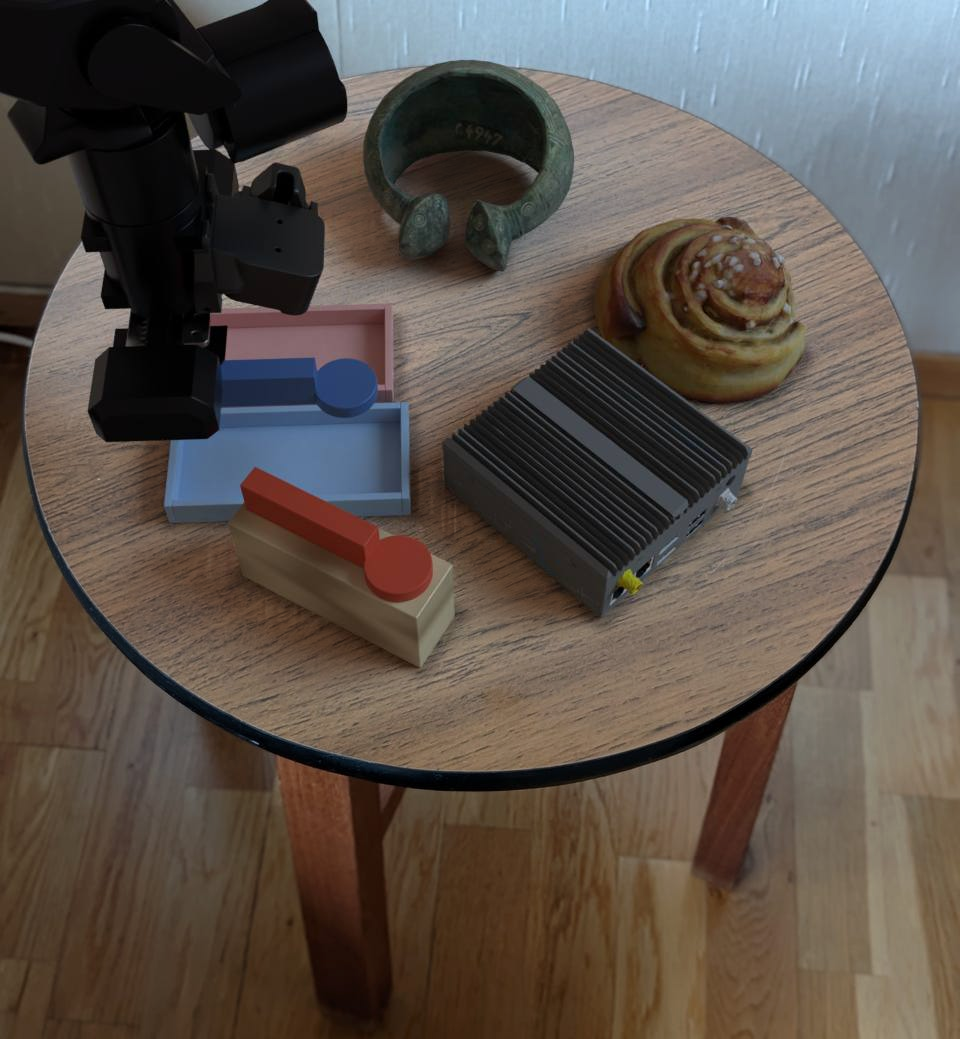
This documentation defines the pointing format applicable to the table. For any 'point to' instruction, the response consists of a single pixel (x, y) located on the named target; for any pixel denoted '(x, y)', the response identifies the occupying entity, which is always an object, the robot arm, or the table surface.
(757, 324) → the pastry
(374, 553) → the red spoon
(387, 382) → the rose tray
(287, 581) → the wooden rectangular block
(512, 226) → the bracelet
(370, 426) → the blue tray
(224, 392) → the blue paddle
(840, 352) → the table surface
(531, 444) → the electronic device
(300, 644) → the table surface
